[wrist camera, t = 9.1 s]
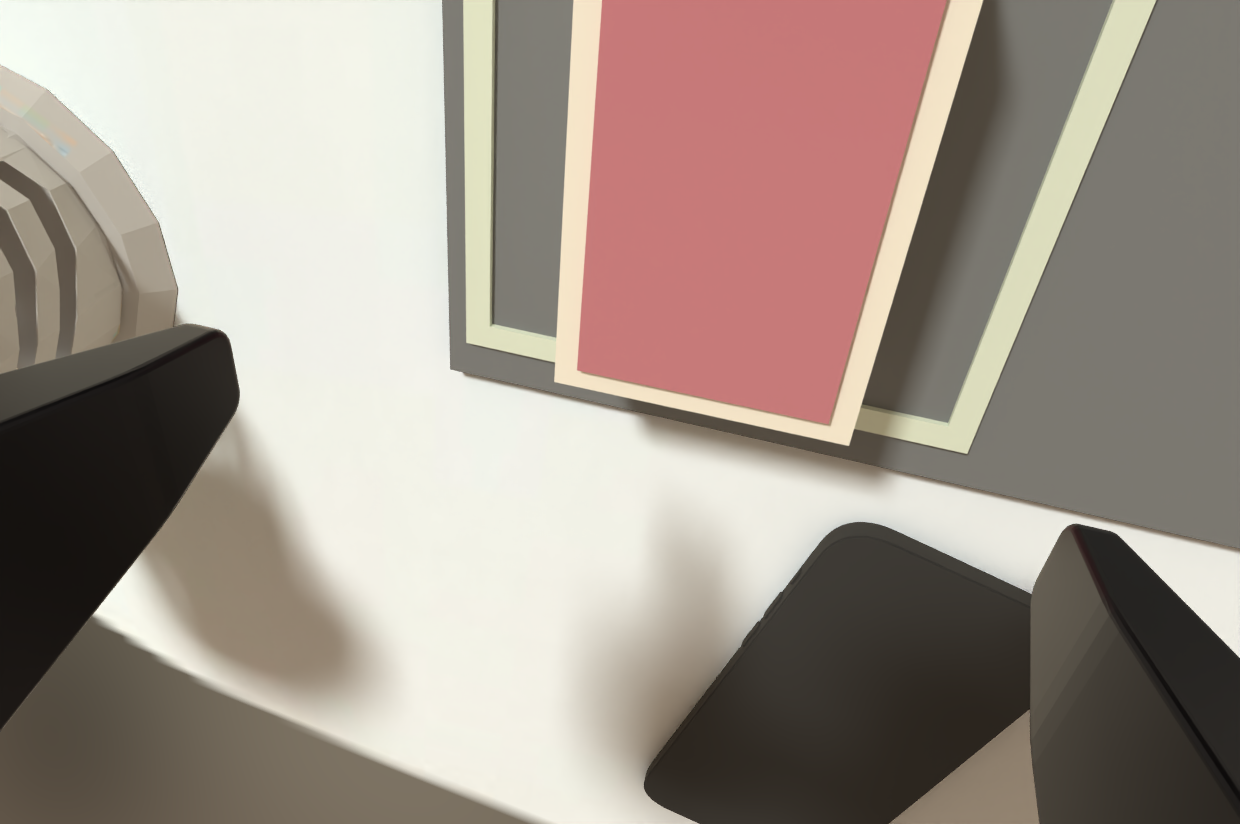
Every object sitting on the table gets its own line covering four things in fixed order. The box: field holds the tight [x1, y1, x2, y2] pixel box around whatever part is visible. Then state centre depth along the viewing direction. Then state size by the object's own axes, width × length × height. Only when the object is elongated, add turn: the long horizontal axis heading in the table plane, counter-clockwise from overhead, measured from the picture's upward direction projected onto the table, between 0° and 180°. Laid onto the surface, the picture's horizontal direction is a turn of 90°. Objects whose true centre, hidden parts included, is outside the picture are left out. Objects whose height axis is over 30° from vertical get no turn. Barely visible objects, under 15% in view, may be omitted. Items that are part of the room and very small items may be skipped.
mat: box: [442, 0, 1240, 549], centre depth 17 cm, size 24×14×1 cm, turn 84°
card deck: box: [554, 0, 983, 446], centre depth 16 cm, size 9×6×3 cm, turn 175°
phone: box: [644, 522, 1032, 824], centre depth 27 cm, size 7×1×15 cm
